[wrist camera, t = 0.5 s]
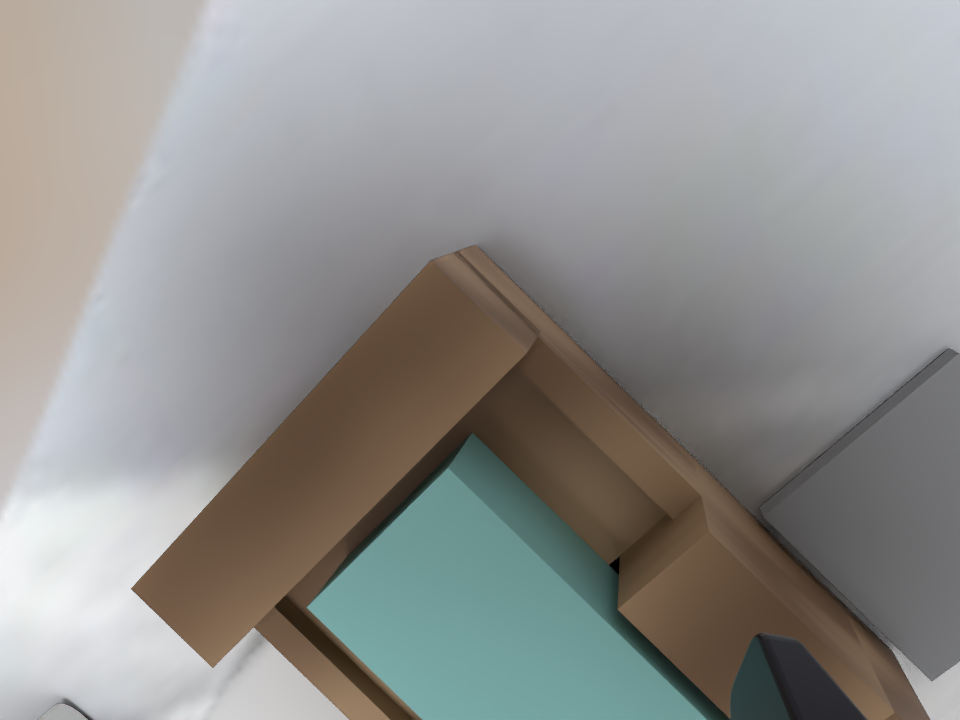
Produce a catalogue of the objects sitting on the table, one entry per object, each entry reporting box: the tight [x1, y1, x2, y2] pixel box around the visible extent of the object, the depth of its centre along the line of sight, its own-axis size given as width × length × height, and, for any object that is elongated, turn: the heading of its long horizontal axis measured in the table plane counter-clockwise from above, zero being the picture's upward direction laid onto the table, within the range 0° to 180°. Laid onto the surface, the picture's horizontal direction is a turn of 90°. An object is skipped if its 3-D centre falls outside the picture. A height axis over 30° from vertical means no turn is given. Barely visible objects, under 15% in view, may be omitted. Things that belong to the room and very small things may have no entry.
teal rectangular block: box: [307, 432, 731, 720], centre depth 18 cm, size 8×4×2 cm, turn 47°
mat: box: [760, 349, 960, 681], centre depth 19 cm, size 6×6×1 cm
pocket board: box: [131, 245, 930, 720], centre depth 19 cm, size 14×10×4 cm
